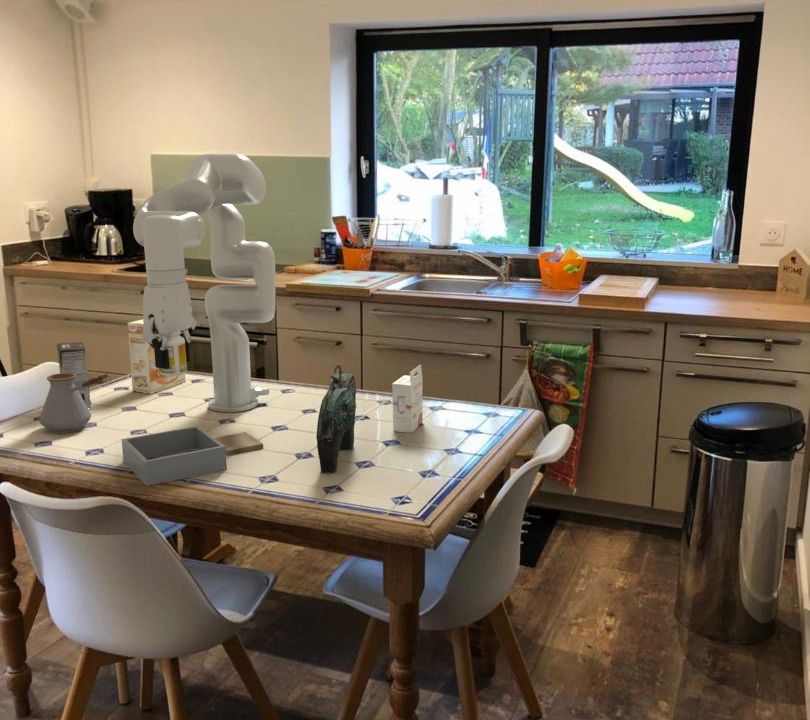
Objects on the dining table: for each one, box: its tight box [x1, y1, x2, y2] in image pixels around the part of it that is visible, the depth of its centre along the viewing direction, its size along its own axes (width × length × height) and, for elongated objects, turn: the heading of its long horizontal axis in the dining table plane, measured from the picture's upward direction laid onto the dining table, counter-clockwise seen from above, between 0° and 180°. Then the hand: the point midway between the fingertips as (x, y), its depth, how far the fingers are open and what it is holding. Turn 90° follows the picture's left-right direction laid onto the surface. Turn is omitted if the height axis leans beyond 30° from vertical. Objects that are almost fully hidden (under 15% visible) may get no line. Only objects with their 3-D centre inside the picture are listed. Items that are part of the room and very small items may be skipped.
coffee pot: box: [39, 373, 112, 434], centre depth 198 cm, size 21×12×15 cm, turn 62°
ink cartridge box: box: [391, 364, 423, 434], centre depth 200 cm, size 9×5×15 cm, turn 161°
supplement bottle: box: [158, 331, 188, 376], centre depth 174 cm, size 5×5×10 cm
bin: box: [121, 425, 228, 487], centre depth 176 cm, size 17×17×5 cm
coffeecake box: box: [127, 318, 186, 395], centre depth 237 cm, size 15×7×20 cm, turn 155°
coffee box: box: [56, 341, 92, 409], centre depth 219 cm, size 9×6×16 cm
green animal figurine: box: [315, 364, 357, 474], centre depth 179 cm, size 20×6×20 cm, turn 170°
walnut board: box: [214, 431, 264, 456], centre depth 189 cm, size 10×10×1 cm
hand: (173, 363), depth 174 cm, fingers closed on supplement bottle, 5 cm apart
